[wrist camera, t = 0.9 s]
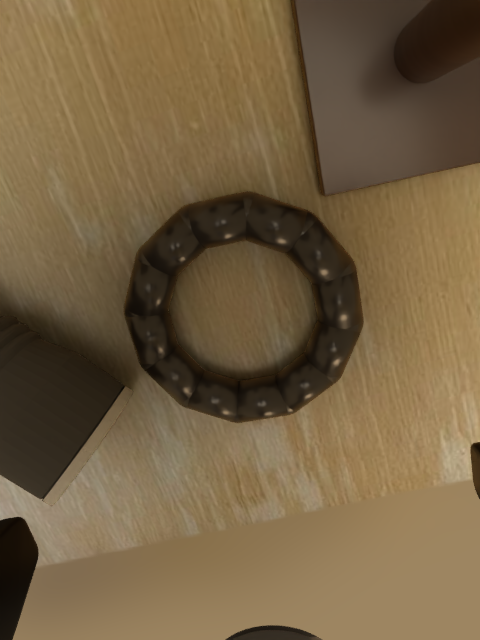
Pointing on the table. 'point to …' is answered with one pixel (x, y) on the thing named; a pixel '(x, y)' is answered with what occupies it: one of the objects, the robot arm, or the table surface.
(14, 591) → the robot arm
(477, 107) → the rack
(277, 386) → the studded brown bangle
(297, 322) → the table surface
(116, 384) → the flashlight
